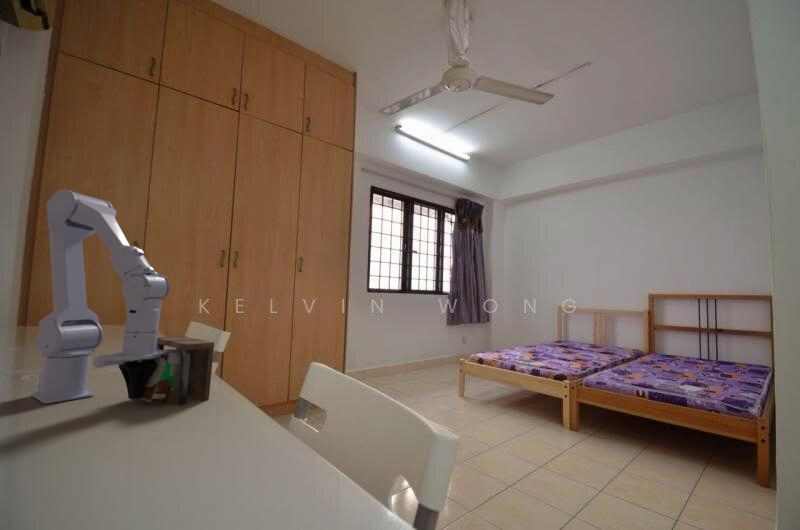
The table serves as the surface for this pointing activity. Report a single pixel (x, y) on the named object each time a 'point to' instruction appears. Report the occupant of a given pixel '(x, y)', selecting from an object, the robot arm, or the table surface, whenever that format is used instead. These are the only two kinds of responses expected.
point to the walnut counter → (191, 366)
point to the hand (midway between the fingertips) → (134, 398)
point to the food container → (162, 378)
